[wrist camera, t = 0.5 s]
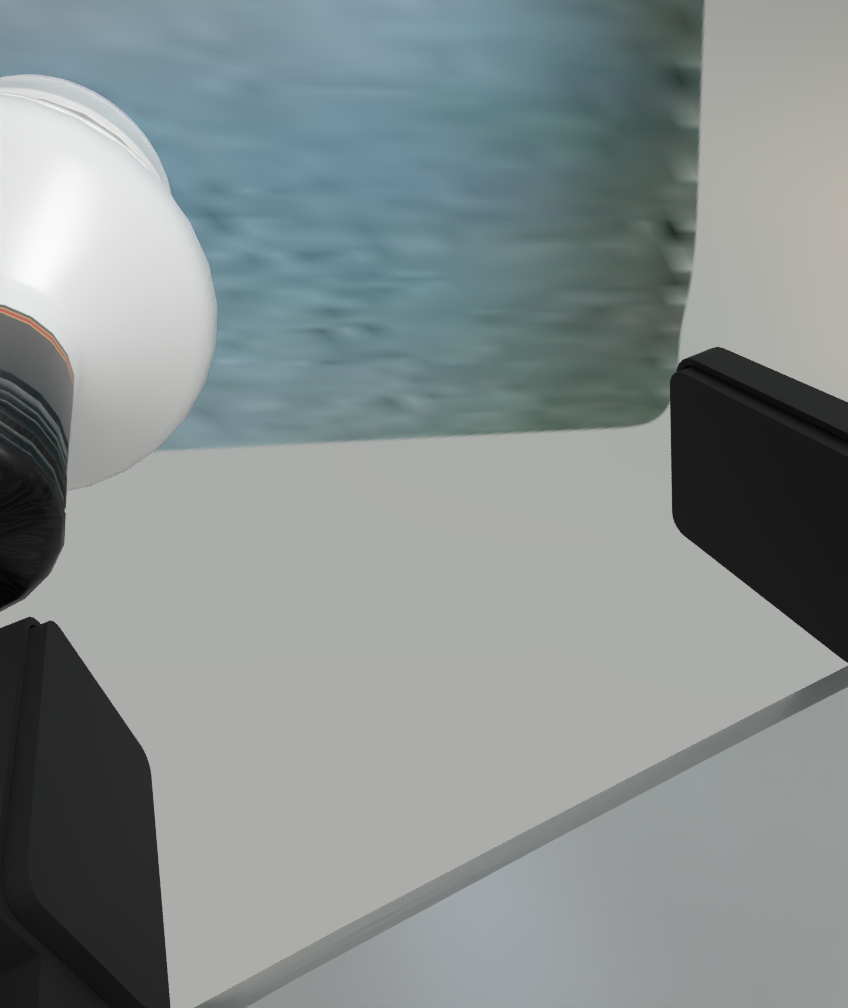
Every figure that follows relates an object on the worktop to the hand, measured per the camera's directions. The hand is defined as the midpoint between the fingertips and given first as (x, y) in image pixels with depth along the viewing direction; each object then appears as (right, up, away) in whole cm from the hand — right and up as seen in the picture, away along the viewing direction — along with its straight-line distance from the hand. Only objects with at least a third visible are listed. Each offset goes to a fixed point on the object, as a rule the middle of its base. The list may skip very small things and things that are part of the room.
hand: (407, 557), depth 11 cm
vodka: (-16, +14, +22) cm, 30 cm away
